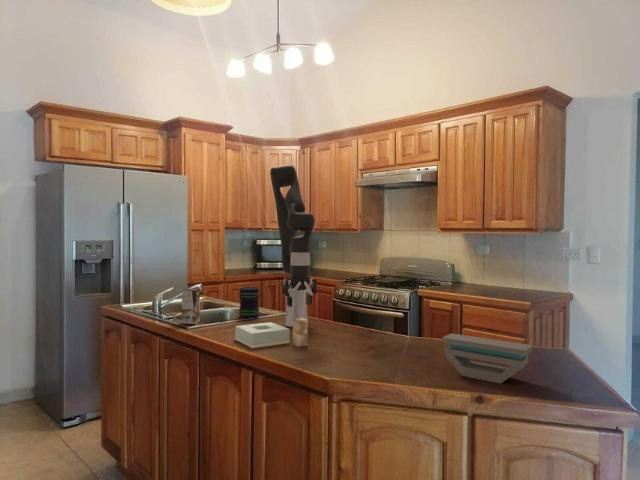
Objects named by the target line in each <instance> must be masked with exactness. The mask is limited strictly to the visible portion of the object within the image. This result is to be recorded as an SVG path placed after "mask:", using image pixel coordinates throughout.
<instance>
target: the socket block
mask: <svg viewBox="0 0 640 480" xmlns="http://www.w3.org/2000/svg"><path fill="white" fill-rule="evenodd" d="M234 336H235V339H236V341H237V342H240V343H241V344H243V345H244V346H246V347H249V348H251V349H255V348H262V347H264V348H265V347H270V346H277V345H283V344H290V328H287V327H286V326H283V325H280V324H277V323H274V322H271V321H270V322H261V323H251V324H242V325H235V335H234Z"/></svg>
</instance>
